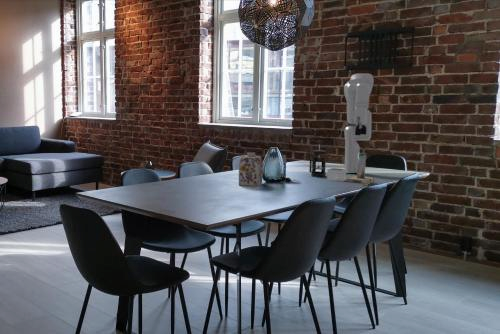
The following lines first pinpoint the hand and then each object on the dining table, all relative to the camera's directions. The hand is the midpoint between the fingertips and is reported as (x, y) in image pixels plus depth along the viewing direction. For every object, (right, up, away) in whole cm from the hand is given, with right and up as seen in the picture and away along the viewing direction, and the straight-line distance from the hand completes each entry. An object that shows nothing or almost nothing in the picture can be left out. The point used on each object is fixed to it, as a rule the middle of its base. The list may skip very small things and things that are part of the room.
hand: (360, 134), depth 298 cm
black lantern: (-22, -26, +21) cm, 40 cm away
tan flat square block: (0, -28, 0) cm, 28 cm away
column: (0, -25, 0) cm, 25 cm away
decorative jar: (-64, -29, -11) cm, 71 cm away
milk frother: (-46, -27, +6) cm, 54 cm away
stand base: (-13, -27, +8) cm, 31 cm away
